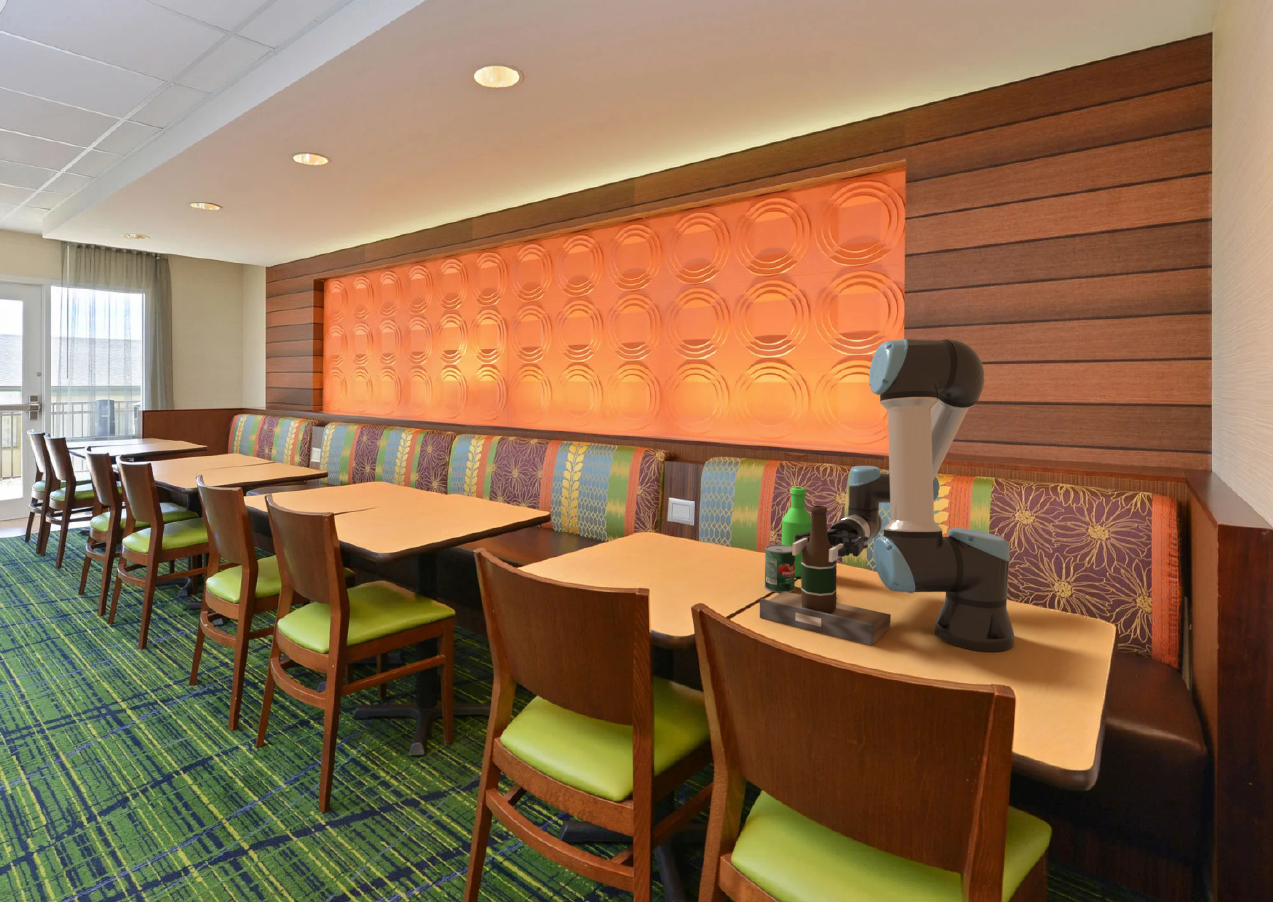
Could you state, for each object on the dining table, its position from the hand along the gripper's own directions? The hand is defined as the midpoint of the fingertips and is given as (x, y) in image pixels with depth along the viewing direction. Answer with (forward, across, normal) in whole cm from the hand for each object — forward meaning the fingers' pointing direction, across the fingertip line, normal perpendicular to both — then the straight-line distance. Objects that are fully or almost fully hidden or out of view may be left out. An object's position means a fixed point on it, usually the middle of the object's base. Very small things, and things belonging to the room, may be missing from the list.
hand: (811, 552), depth 143 cm
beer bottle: (-5, 0, -15) cm, 15 cm away
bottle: (-37, +20, -18) cm, 45 cm away
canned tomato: (-22, +18, -18) cm, 33 cm away
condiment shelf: (-6, -1, -18) cm, 18 cm away
